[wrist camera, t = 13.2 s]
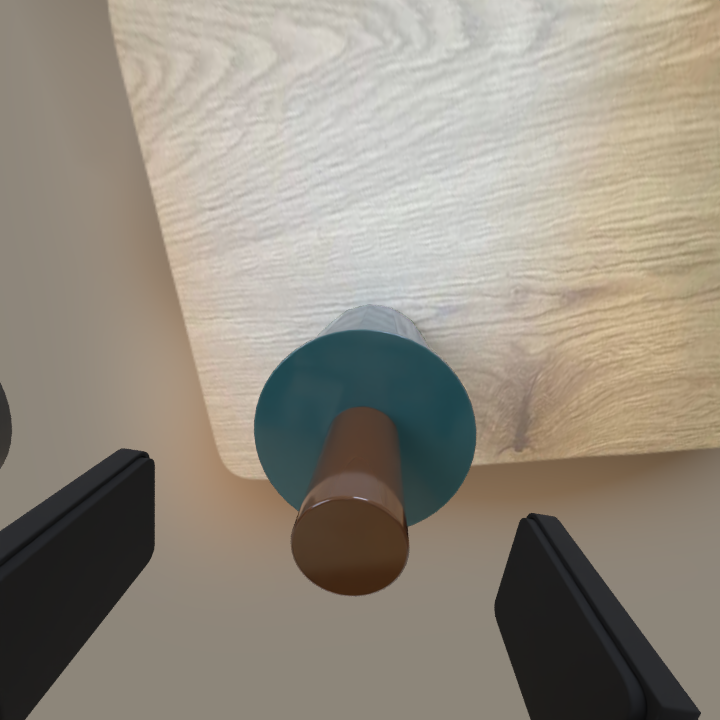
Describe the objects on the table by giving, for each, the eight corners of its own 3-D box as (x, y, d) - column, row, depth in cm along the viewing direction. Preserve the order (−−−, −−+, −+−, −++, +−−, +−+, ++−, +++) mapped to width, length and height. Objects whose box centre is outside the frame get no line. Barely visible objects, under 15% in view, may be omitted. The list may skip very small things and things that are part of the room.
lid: (255, 498, 16) (168, 653, 9) (271, 308, 14) (171, 341, 7) (445, 531, 15) (488, 713, 9) (492, 343, 13) (592, 410, 7)
